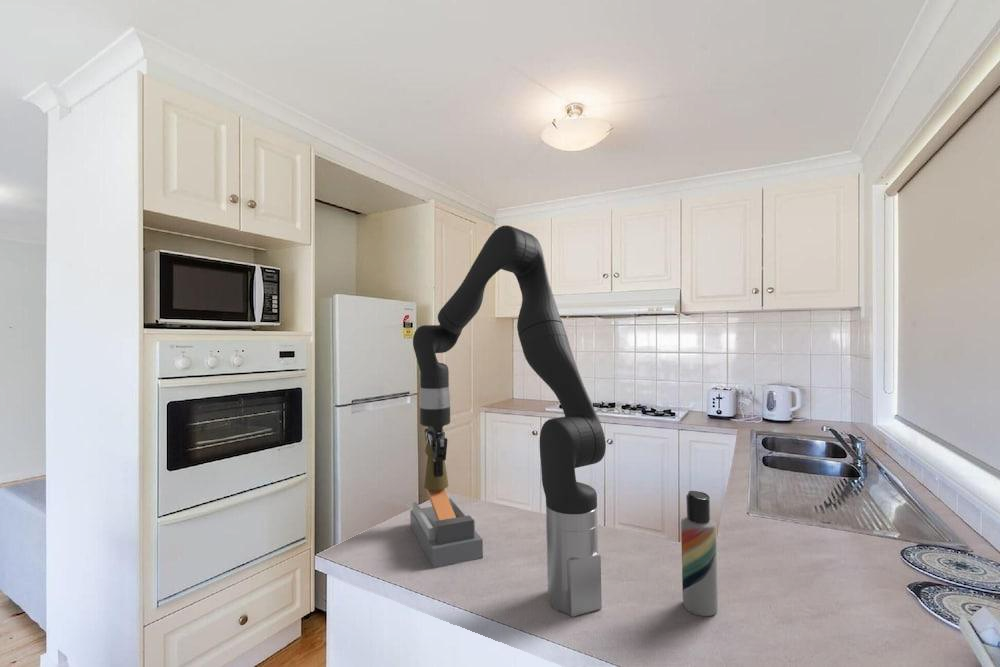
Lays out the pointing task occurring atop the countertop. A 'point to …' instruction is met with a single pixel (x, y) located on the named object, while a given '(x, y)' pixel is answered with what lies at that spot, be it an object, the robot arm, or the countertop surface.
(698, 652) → the countertop surface
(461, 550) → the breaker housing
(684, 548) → the lotion bottle
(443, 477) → the olive pawn figure
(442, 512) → the lever
